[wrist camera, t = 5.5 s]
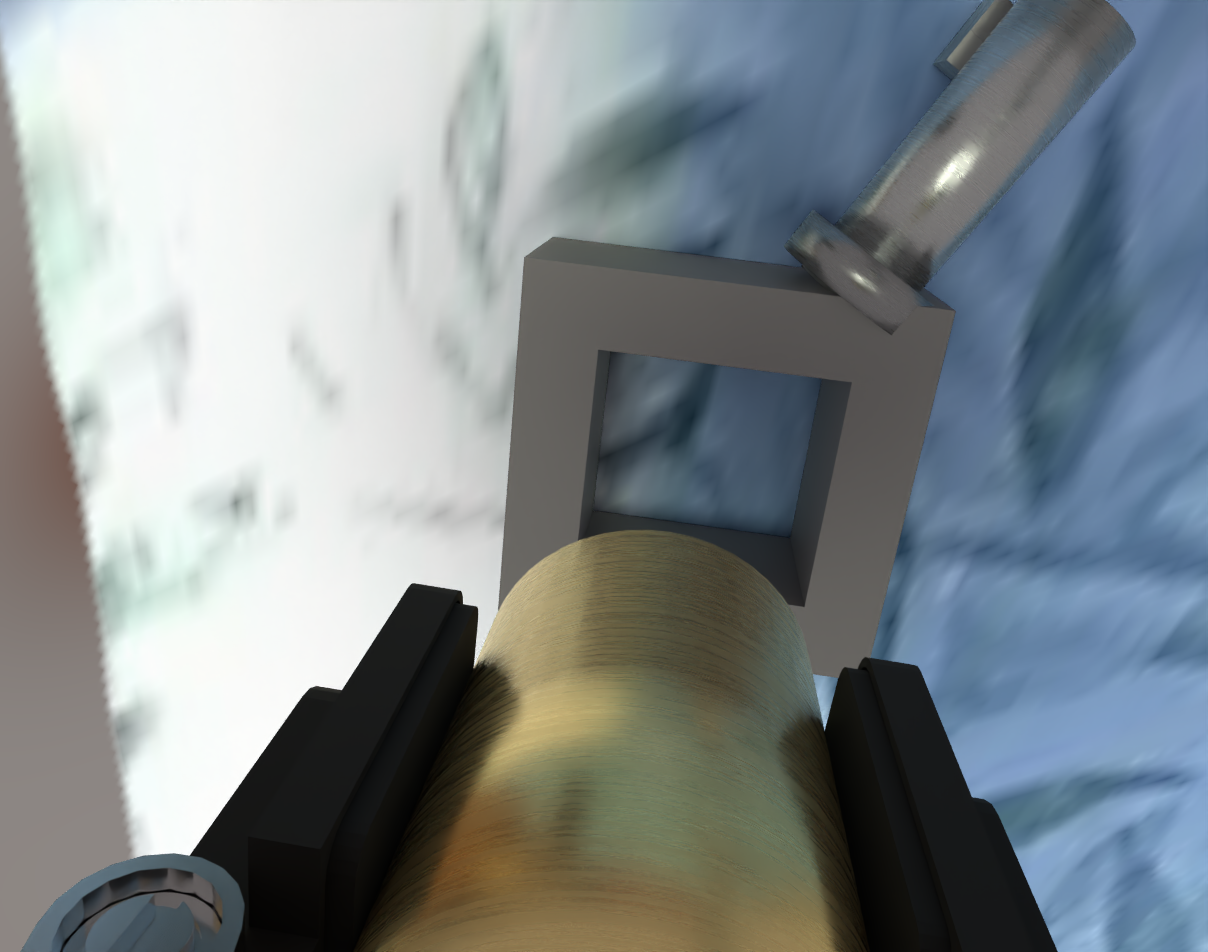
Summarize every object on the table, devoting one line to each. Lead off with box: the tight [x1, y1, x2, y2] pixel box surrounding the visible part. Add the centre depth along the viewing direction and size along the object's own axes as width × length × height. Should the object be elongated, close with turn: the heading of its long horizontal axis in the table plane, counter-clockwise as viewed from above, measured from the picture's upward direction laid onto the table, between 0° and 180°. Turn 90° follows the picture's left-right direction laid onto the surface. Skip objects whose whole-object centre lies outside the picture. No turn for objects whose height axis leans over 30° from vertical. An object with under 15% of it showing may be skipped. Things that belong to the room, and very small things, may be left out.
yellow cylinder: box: [353, 530, 870, 952], centre depth 8 cm, size 4×4×8 cm
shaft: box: [784, 0, 1136, 335], centre depth 20 cm, size 7×4×4 cm, turn 144°
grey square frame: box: [498, 237, 956, 678], centre depth 23 cm, size 9×9×4 cm
